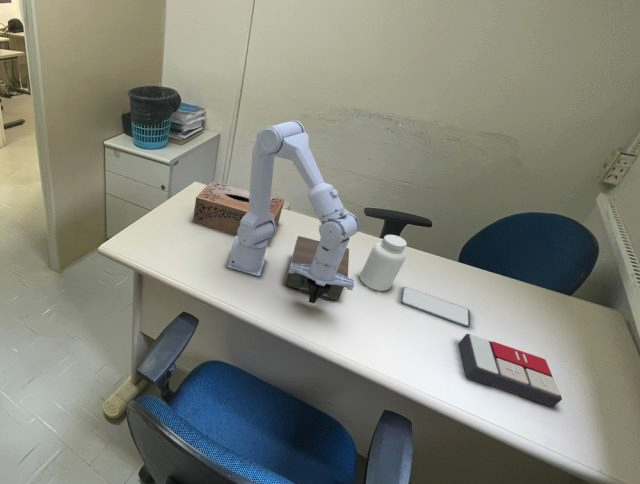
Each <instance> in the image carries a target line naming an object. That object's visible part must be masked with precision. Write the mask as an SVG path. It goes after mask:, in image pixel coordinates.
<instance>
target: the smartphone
mask: <svg viewBox="0 0 640 484" xmlns="http://www.w3.org/2000/svg"><path fill="white" fill-rule="evenodd" d="M401 303H402V304H404V305H408V306H409V307H412V308H414V309H418V310H420V311H424V312H427V313H429V314H431V315H434V316H437V317H440V318H443V319H445V320H448V321H450V322H454V323H456V324H459V325H462V326H464V327H470V326H471V315H470V314H471V313H470V310H469V309H468V308H466V307H463V306H460V305H457V304H454V303H452V302H448V301H446V300H443V299H440V298H438V297H434V296H431V295H429V294H427V293H423V292H419V291H417V290H415V289H411V288H408V287H403V289H402V294H401Z"/></svg>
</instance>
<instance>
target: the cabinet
mask: <svg viewBox="0 0 640 484" xmlns="http://www.w3.org/2000/svg"><path fill="white" fill-rule="evenodd" d="M319 242H320V240H316V239H312V238H308V237H305V236H300V235H297V239H296V241H295V245H294V248H293V251H292V254H291V258H290V262H289V266H288V271H287V275H286V279H285V283H284V286H288V282H289V278H290V275H291V273H289V270H290V266H291V263H296V264H305V265H312V262H313V259H314V256H315V253H316V250H317V248H318V245H319ZM349 260H350V248H348V247H346V250H345V253H344V255H343V258H342V260H341V263H340V265H339V267H338V270H337V273H339V274H341V275H343V276H345V277H347V278H349ZM344 289H345V287H343V286H342V288H341V291H340V293H339V295H338V298H337V300H336V301H339V300H340V297H341V294H342V293H343V291H344Z"/></svg>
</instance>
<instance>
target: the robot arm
mask: <svg viewBox="0 0 640 484" xmlns="http://www.w3.org/2000/svg"><path fill="white" fill-rule="evenodd" d="M309 139H310V137H309V135H308V133H307V132H306V129H305V127H304V125H303V124H302V123H301V121H298V120H296V119H292V120H291V119H290V120H288V121H286V122H282V123H278V124H275V125H274V124H273V125H268V126H265V127H264V128H262V129H261V130H259V131H257V133H256V141H255V143H254V145H253V146H252V153H251V166H250V167H251V168H250V180H249V181H250V183H249V190H250V195H249V210H248V212H247V213H246V214H245V215H244V217H243V218H242V219H241V222H240V226H239V228H238V231H237V235H238V236H235V235H234V239H233V241H232V244H231V247H230V252H229V260H228V262H227V263H228V264H227V268H229V269H231V270H235V271H239V272H242V273H245V274H249V275H251V276H256V277H261V273H262V271H263V268H264V264H265V260H264V258H265V254H266V250H267V247H268V245H267V243H268V241H269V238H270V237H271V238H273V237H274V236H276V232H277V227H276V226H275V223H274V215H273V214H271V213H270V212H269V210H270V199H271V196H272V185H273V175H274V166H275V158H276V157H277V158H281V159H284V160H288V161H291V162H292V163H293V165H294V166H295V168H296V170H297V171H298V174H300V176H301V178H302V180H303V181H304V182H305V184H306V186H307V187H308V189H309V190H308V195H307V199H308V201H309V202H310V205H311V207H312V208H313V210H314V212H315V214H316V216H317V218H318V221H319V223H320V224H319V225H318V234H319V235H320V239H319V241H320V242H319V245H318V248H317V250H316V253H315V256H314V259H313V262H312V265H305V264H296V263H291V266H290V265H289V266H290V270H289V269H288V270H289V273H292V274H293V273H297V274H301V275H304V276H306V277H308V280H307V286H308V289H309V295H308V296H309V297H308V303H311V304H316V302H317V300H319V299H320V298H319V297H320V296H321V295H323V294H324V293H326V292H328V291H329V290H330V288H331V284H332V285H339V286H343V287H344V288H346V289H347V290H348V291H353V290H354V287H355V285H356V284H355V279H353V278H349V277H348V278H347V277H345V276H343V275H341V274H339V273H337V270H338V267H339V265H340V263H341V260H342V258H343V255H344V253H345V250H346V248H348V245H349V242H350V238H351V237H353V236H354V235H356V234H357V233H358V232H359V230H360V222H359V221H358V220H359V219H358V217H357V216H356V215H355V214H353V213H352V212H350V211H349V210H348V209H346V207H345V206H344V205H343V203H342V201H341V199H340V197H339V192H338V190H337V189H335V187H334V185H332V184H330V183H327V182H325V180H324V178H323V176H322V173H321V171H320V169H319V166H318V164H317V163H316V160H315V158H314V155H313V152H312V151H311V149H310V145H309V142H310V141H309ZM269 242H270V241H269ZM268 244H269V243H268Z"/></svg>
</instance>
